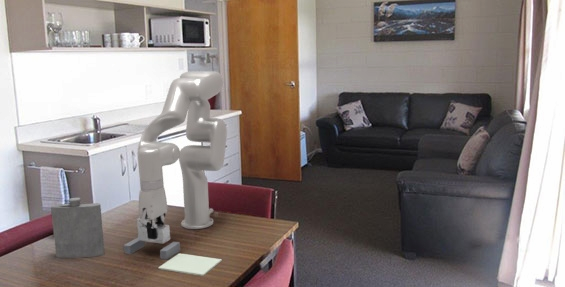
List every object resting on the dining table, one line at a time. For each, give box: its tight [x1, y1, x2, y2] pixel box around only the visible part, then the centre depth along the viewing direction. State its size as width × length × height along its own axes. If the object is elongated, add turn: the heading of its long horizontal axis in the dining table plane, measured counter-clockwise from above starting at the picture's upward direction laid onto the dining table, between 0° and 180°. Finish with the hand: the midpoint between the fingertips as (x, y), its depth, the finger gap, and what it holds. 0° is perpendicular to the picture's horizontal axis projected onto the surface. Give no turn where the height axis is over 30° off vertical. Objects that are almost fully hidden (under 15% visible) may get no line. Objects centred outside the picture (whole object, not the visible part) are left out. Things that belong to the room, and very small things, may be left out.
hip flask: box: [50, 197, 106, 259], centre depth 169 cm, size 16×4×20 cm, turn 93°
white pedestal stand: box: [136, 217, 171, 244], centre depth 171 cm, size 4×10×8 cm, turn 69°
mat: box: [158, 252, 223, 277], centre depth 161 cm, size 12×16×1 cm
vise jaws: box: [123, 237, 181, 261], centre depth 171 cm, size 8×17×3 cm, turn 69°
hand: (156, 235), depth 171 cm, fingers closed on white pedestal stand, 4 cm apart
